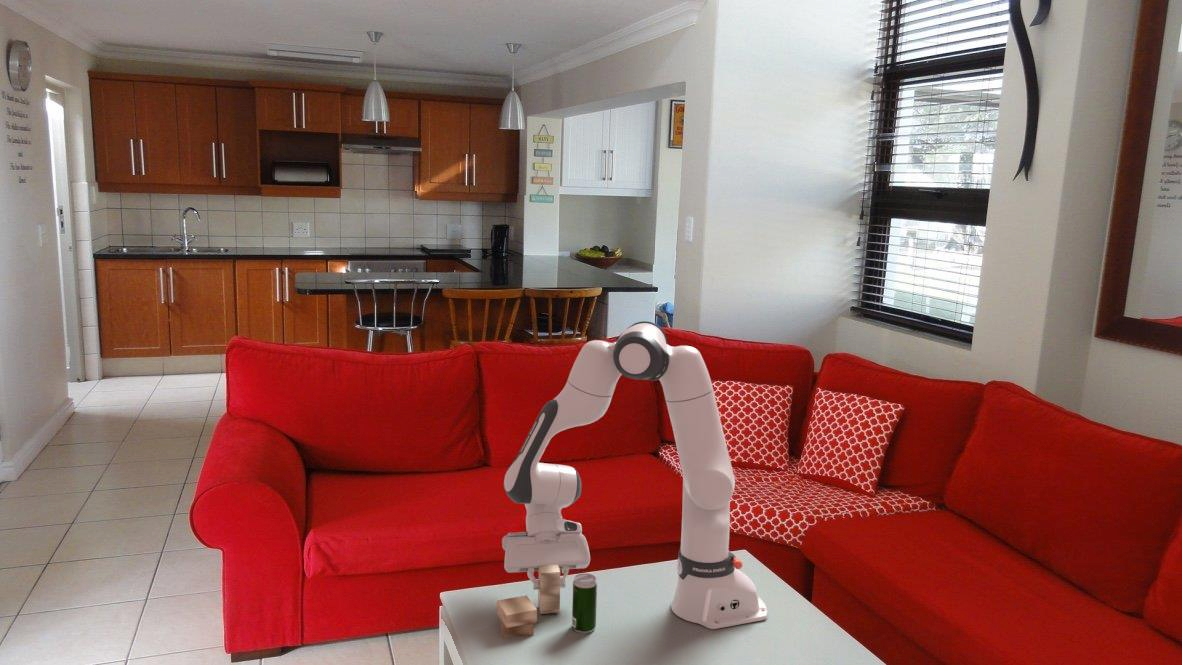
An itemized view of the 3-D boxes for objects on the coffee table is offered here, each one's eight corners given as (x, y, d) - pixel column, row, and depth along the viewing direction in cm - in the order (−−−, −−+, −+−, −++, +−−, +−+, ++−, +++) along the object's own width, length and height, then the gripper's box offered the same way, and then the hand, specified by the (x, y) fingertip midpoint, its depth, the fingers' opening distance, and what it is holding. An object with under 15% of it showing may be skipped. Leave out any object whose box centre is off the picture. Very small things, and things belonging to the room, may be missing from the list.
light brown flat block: (530, 620, 192) (530, 608, 191) (533, 636, 185) (533, 624, 184) (499, 622, 190) (499, 610, 190) (501, 639, 184) (501, 626, 183)
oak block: (526, 607, 192) (526, 595, 191) (536, 622, 185) (537, 609, 185) (497, 612, 189) (497, 600, 188) (506, 627, 183) (506, 615, 182)
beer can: (580, 636, 185) (581, 586, 183) (567, 626, 189) (568, 576, 187) (600, 630, 188) (602, 580, 186) (587, 619, 192) (588, 570, 190)
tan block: (557, 603, 198) (557, 563, 197) (559, 612, 194) (560, 572, 192) (538, 604, 198) (538, 564, 196) (540, 613, 193) (540, 573, 192)
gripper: (502, 528, 198) (505, 586, 190) (587, 523, 201) (594, 580, 193) (501, 538, 203) (503, 595, 195) (584, 533, 206) (590, 589, 199)
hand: (549, 587), depth 194 cm, fingers closed on tan block, 4 cm apart
